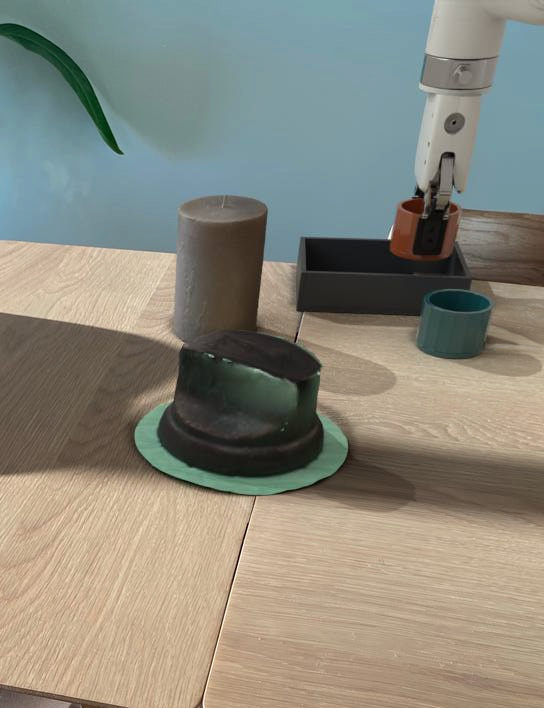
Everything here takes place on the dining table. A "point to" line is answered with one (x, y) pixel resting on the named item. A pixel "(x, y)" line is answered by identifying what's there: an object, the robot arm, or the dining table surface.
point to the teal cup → (454, 323)
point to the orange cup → (407, 226)
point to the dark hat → (244, 417)
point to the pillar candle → (218, 264)
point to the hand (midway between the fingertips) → (422, 241)
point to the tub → (370, 277)
